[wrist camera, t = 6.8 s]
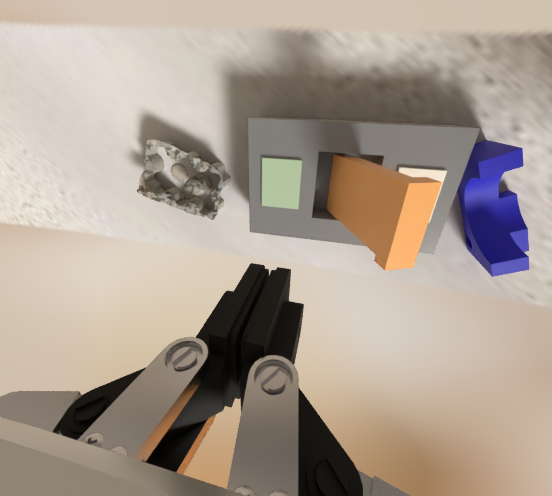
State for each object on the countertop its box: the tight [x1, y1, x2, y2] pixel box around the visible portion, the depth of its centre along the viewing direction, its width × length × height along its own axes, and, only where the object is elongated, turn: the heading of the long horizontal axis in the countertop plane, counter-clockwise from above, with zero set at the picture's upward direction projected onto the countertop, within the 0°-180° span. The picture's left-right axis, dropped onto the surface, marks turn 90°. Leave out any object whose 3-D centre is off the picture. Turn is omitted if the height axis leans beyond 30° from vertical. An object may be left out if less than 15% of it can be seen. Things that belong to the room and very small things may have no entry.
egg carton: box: [137, 139, 230, 220], centre depth 33 cm, size 11×8×4 cm
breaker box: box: [248, 116, 480, 254], centre depth 28 cm, size 20×12×5 cm, turn 89°
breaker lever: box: [326, 154, 442, 270], centre depth 23 cm, size 2×6×12 cm, turn 177°
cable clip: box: [458, 140, 529, 277], centre depth 26 cm, size 12×4×6 cm, turn 25°
